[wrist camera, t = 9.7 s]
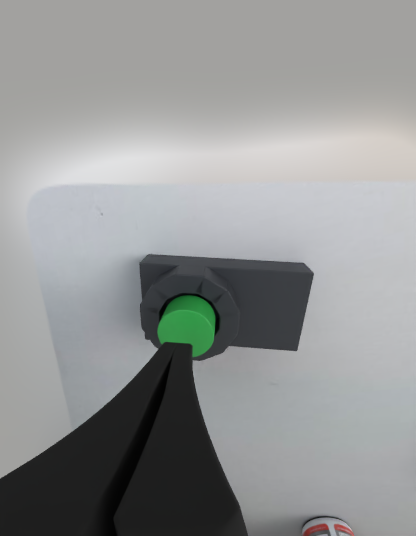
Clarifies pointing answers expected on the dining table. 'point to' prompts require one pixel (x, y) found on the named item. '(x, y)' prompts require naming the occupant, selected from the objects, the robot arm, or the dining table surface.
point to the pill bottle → (326, 528)
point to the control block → (230, 298)
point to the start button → (188, 323)
